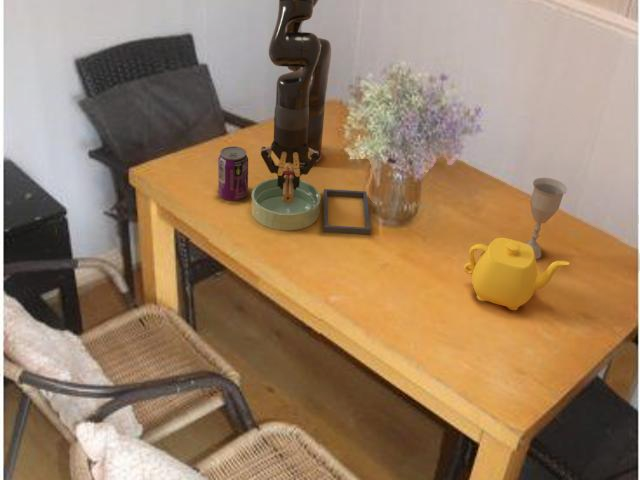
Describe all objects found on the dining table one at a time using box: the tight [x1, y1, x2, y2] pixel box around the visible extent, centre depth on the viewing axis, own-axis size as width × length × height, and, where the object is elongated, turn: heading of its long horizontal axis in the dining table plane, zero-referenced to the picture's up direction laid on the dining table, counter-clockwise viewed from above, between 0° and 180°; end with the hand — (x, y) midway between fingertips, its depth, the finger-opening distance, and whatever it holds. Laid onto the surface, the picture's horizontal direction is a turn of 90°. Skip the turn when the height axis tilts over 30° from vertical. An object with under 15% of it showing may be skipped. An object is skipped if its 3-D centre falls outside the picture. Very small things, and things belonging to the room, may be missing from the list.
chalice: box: [524, 177, 568, 260], centre depth 164 cm, size 7×7×18 cm
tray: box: [323, 188, 371, 236], centre depth 175 cm, size 17×11×2 cm, turn 1°
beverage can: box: [217, 145, 249, 202], centre depth 176 cm, size 7×7×12 cm
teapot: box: [463, 237, 571, 311], centre depth 152 cm, size 14×20×13 cm
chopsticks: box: [283, 165, 295, 203], centre depth 170 cm, size 12×2×2 cm, turn 1°
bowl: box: [250, 177, 322, 231], centre depth 173 cm, size 16×16×5 cm
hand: (288, 187), depth 171 cm, fingers closed on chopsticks, 2 cm apart
